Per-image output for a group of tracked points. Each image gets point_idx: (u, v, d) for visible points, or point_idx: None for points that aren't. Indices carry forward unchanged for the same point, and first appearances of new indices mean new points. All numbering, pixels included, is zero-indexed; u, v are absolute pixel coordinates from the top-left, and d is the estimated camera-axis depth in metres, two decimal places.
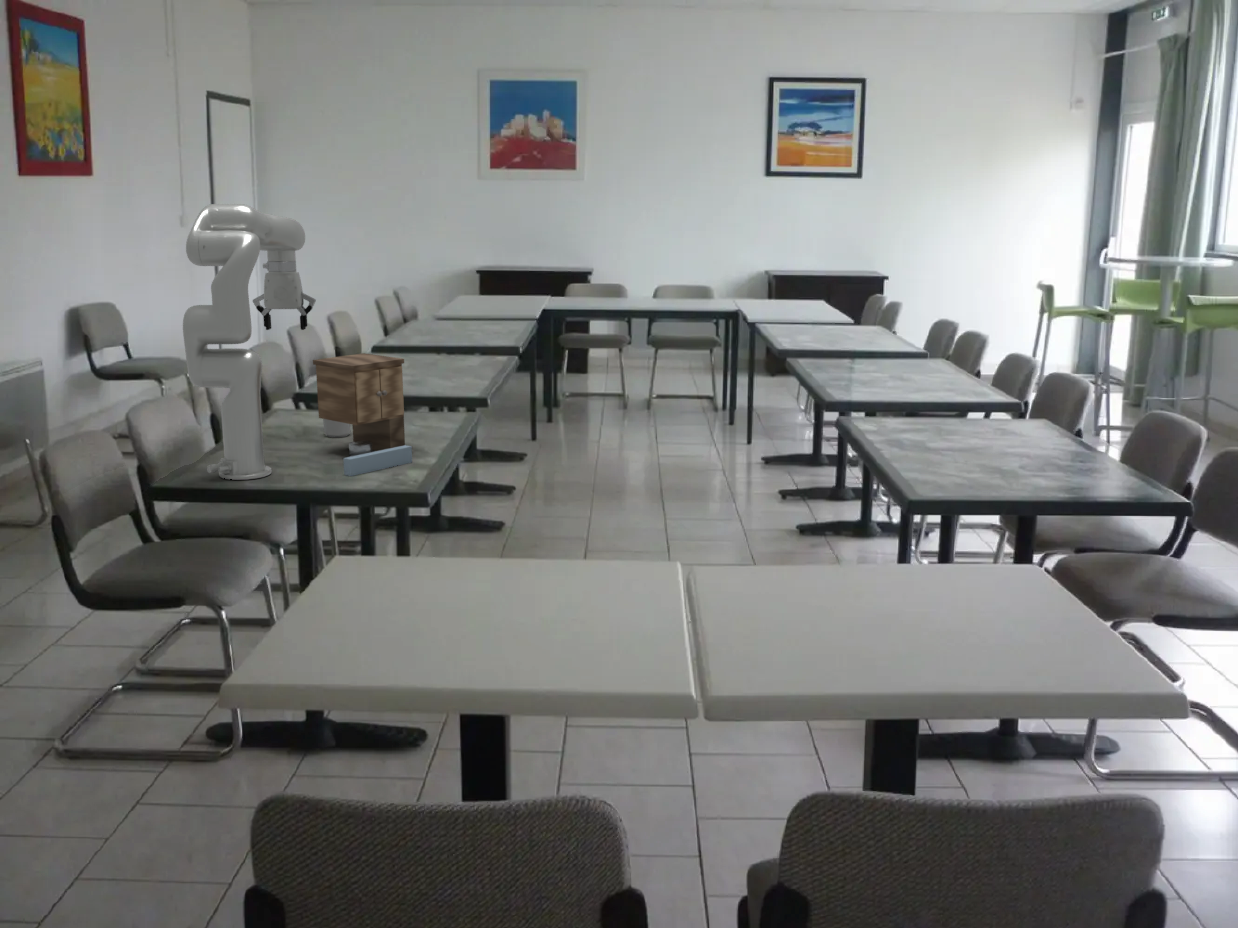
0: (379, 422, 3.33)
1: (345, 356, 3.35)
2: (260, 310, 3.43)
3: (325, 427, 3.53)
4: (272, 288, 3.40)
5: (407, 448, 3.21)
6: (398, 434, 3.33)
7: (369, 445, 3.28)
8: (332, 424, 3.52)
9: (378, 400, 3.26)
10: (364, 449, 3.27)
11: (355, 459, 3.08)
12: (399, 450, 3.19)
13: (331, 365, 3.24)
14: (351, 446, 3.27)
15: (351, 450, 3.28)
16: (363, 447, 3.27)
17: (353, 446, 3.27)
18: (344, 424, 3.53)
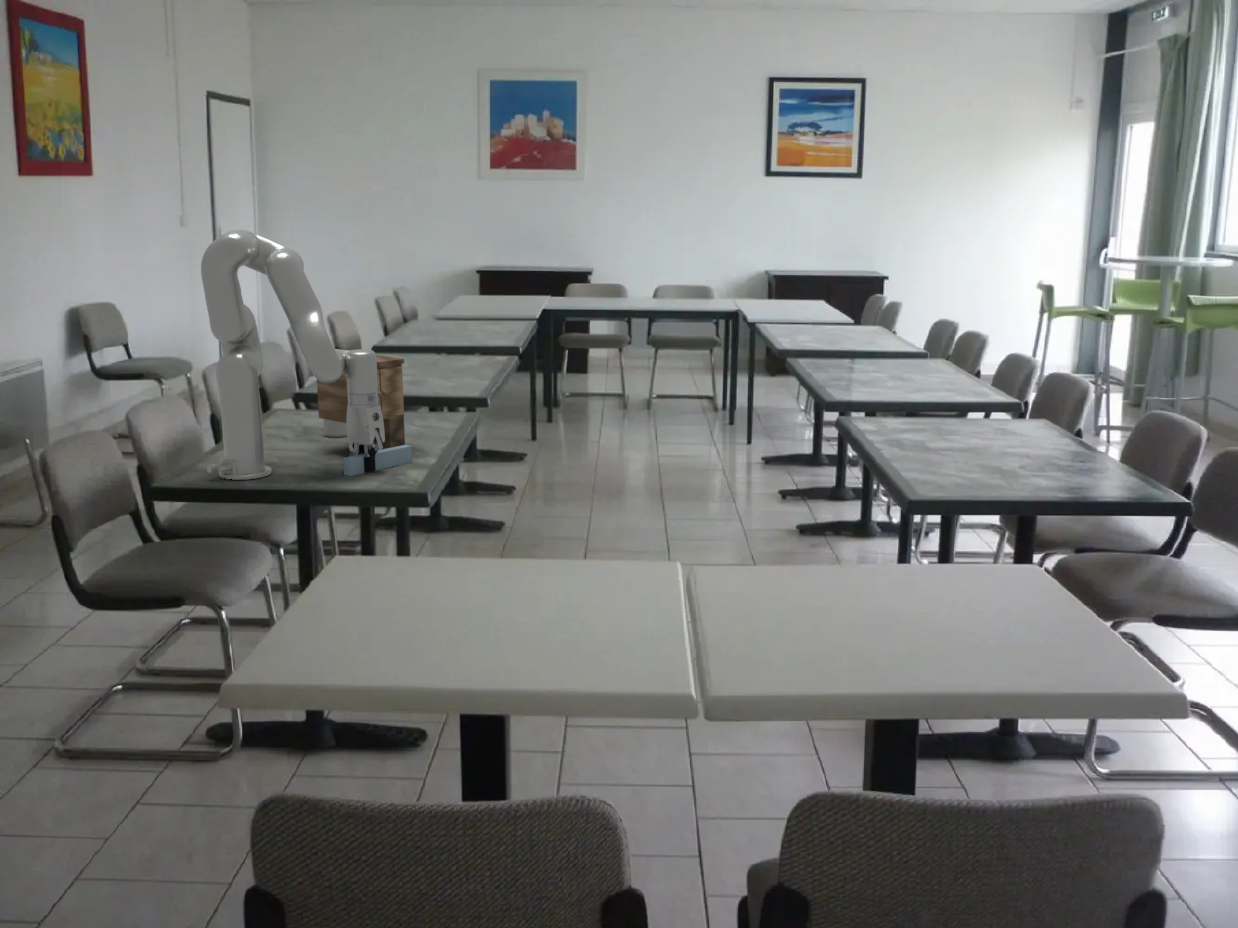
0: None
1: None
2: None
3: (325, 427, 3.53)
4: None
5: (407, 448, 3.21)
6: (398, 434, 3.33)
7: None
8: (332, 424, 3.52)
9: (378, 400, 3.26)
10: None
11: (355, 458, 3.08)
12: (399, 450, 3.19)
13: None
14: (351, 446, 3.27)
15: (351, 450, 3.28)
16: None
17: None
18: (344, 424, 3.53)
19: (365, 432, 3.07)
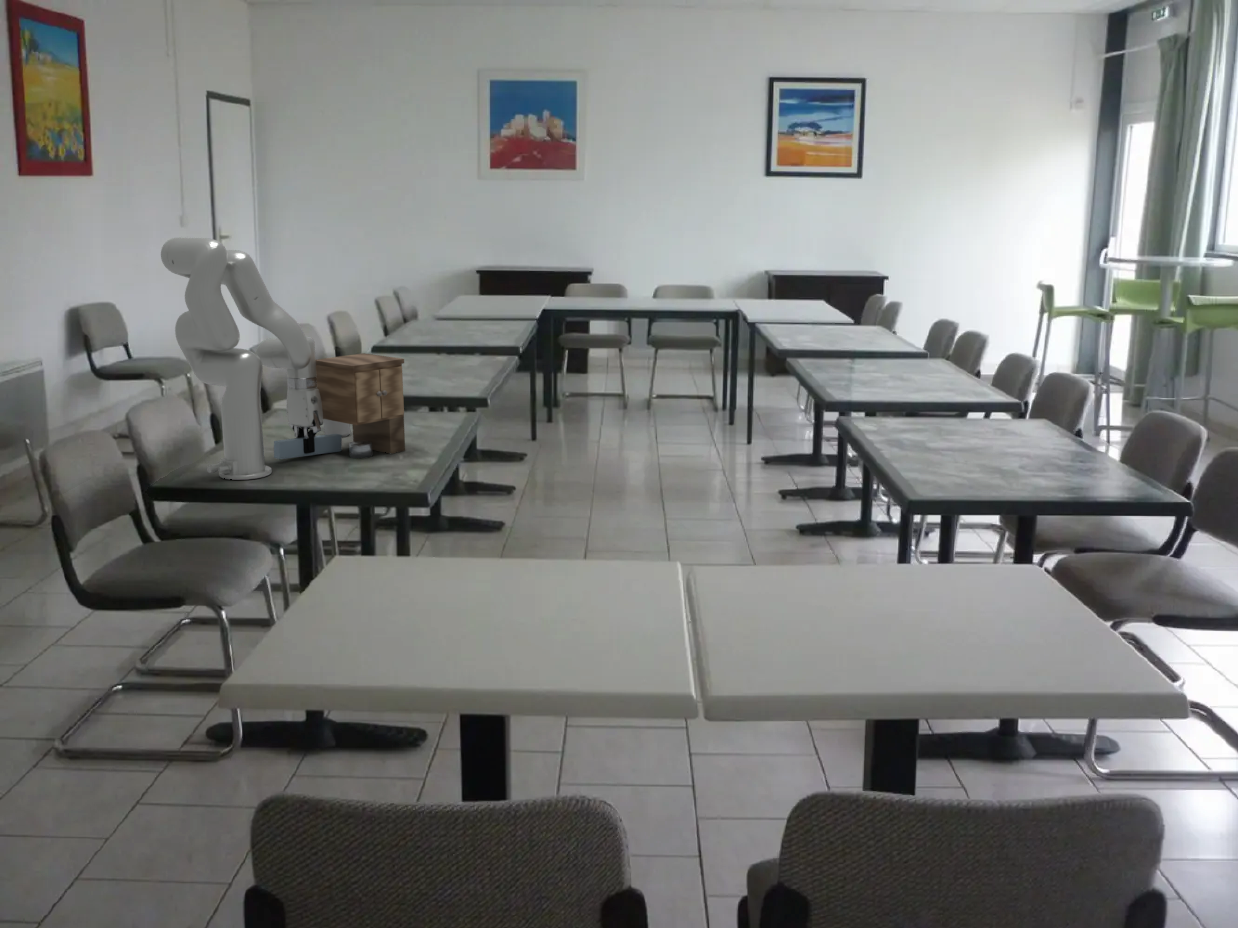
0: (379, 422, 3.33)
1: (345, 356, 3.35)
2: None
3: (325, 427, 3.53)
4: None
5: (337, 436, 3.34)
6: (398, 434, 3.33)
7: (369, 445, 3.28)
8: (332, 424, 3.52)
9: (378, 400, 3.26)
10: (364, 449, 3.27)
11: (285, 442, 3.21)
12: (329, 437, 3.32)
13: (331, 365, 3.24)
14: (351, 446, 3.27)
15: (351, 450, 3.28)
16: (363, 447, 3.27)
17: (353, 446, 3.27)
18: (344, 424, 3.53)
19: (304, 415, 3.22)
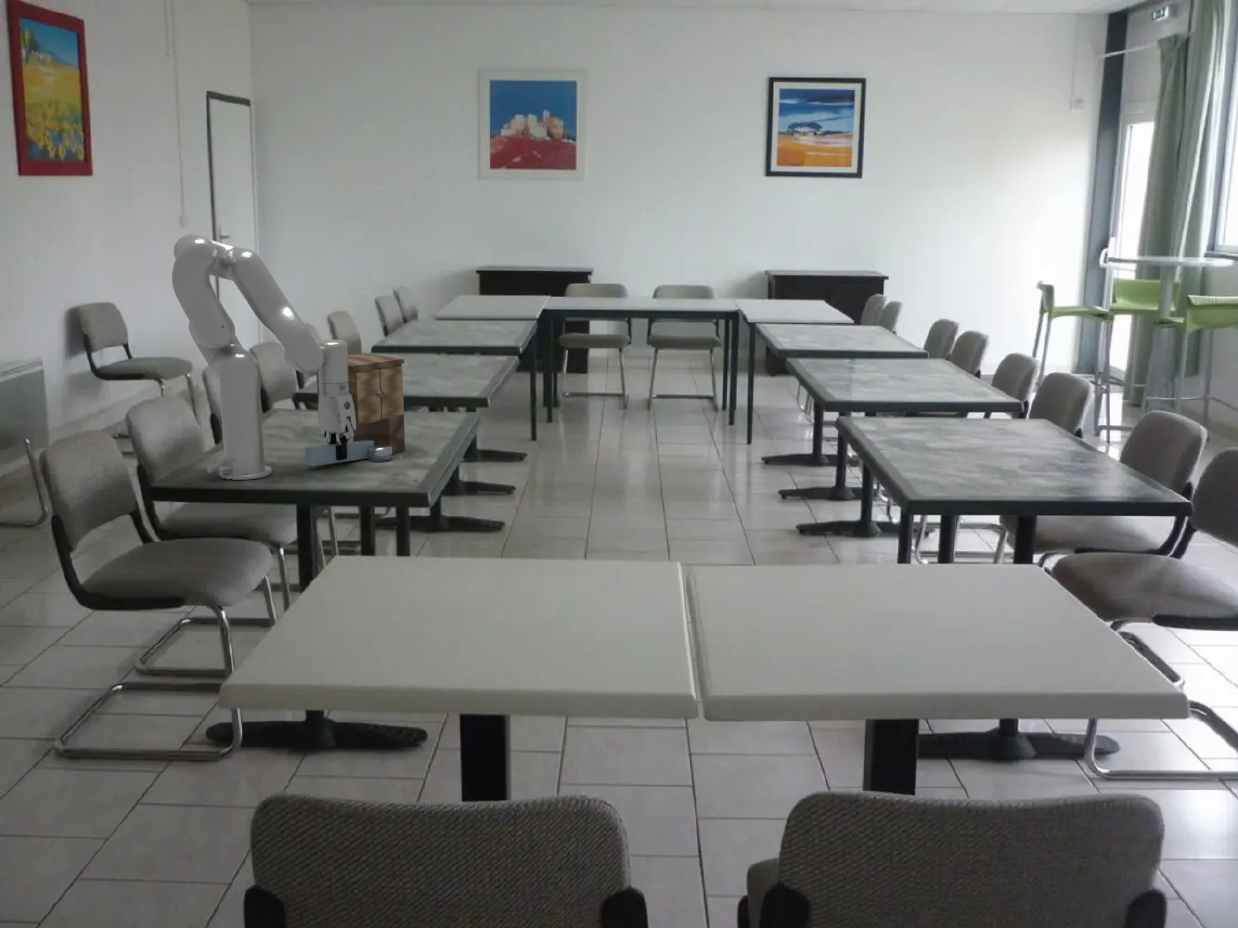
0: (379, 422, 3.33)
1: None
2: None
3: None
4: None
5: (369, 442, 3.25)
6: (398, 434, 3.33)
7: (389, 449, 3.23)
8: None
9: (378, 400, 3.26)
10: (384, 453, 3.22)
11: (317, 448, 3.13)
12: (361, 443, 3.23)
13: None
14: (371, 450, 3.23)
15: (371, 454, 3.23)
16: (383, 451, 3.22)
17: (373, 450, 3.22)
18: None
19: (336, 420, 3.14)
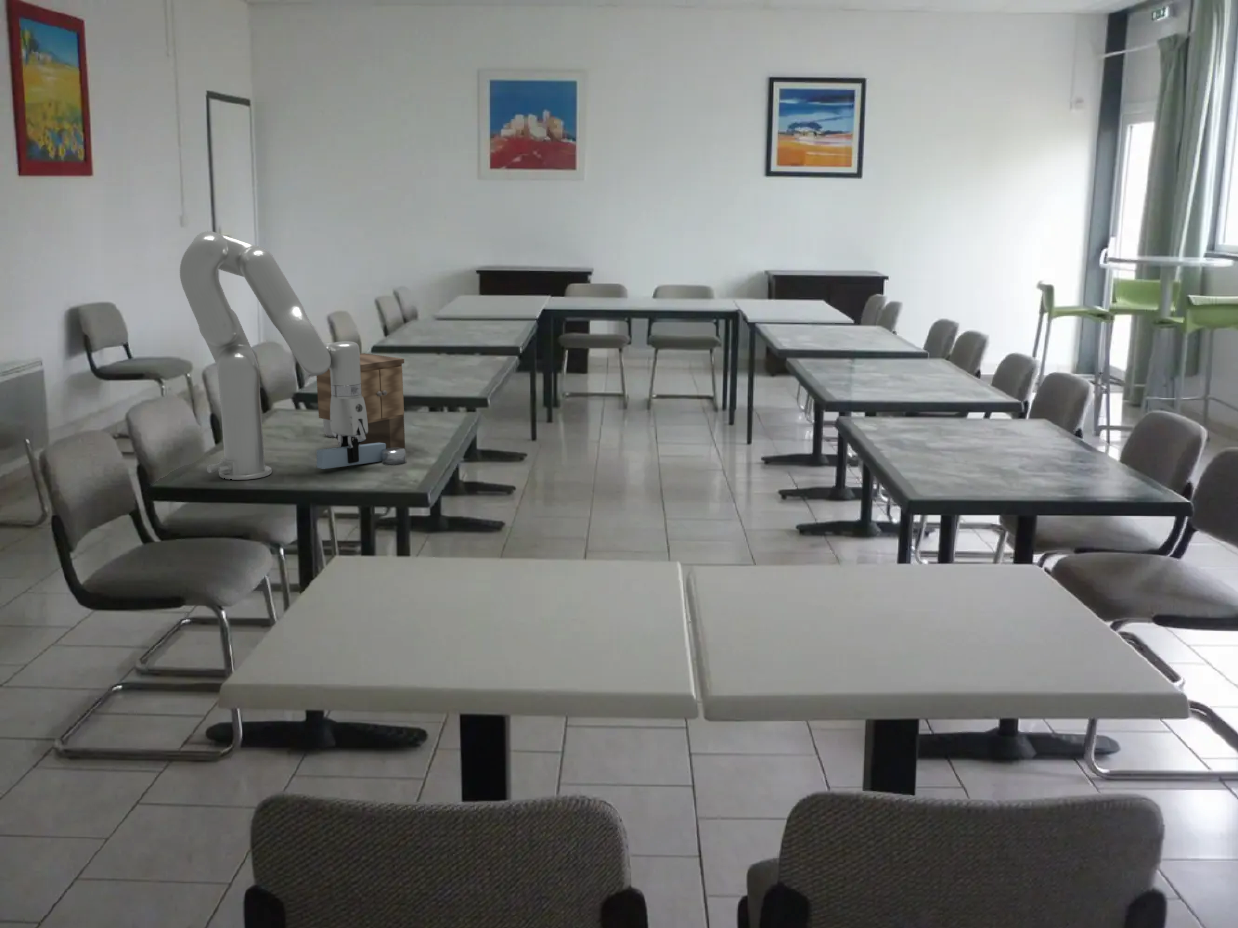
0: (379, 422, 3.33)
1: None
2: None
3: (325, 427, 3.53)
4: None
5: (381, 445, 3.22)
6: (398, 434, 3.33)
7: (402, 452, 3.20)
8: None
9: (378, 400, 3.26)
10: (396, 456, 3.19)
11: (328, 451, 3.09)
12: (373, 446, 3.20)
13: None
14: (383, 453, 3.20)
15: (383, 457, 3.20)
16: (396, 454, 3.19)
17: (385, 453, 3.19)
18: None
19: (348, 423, 3.10)
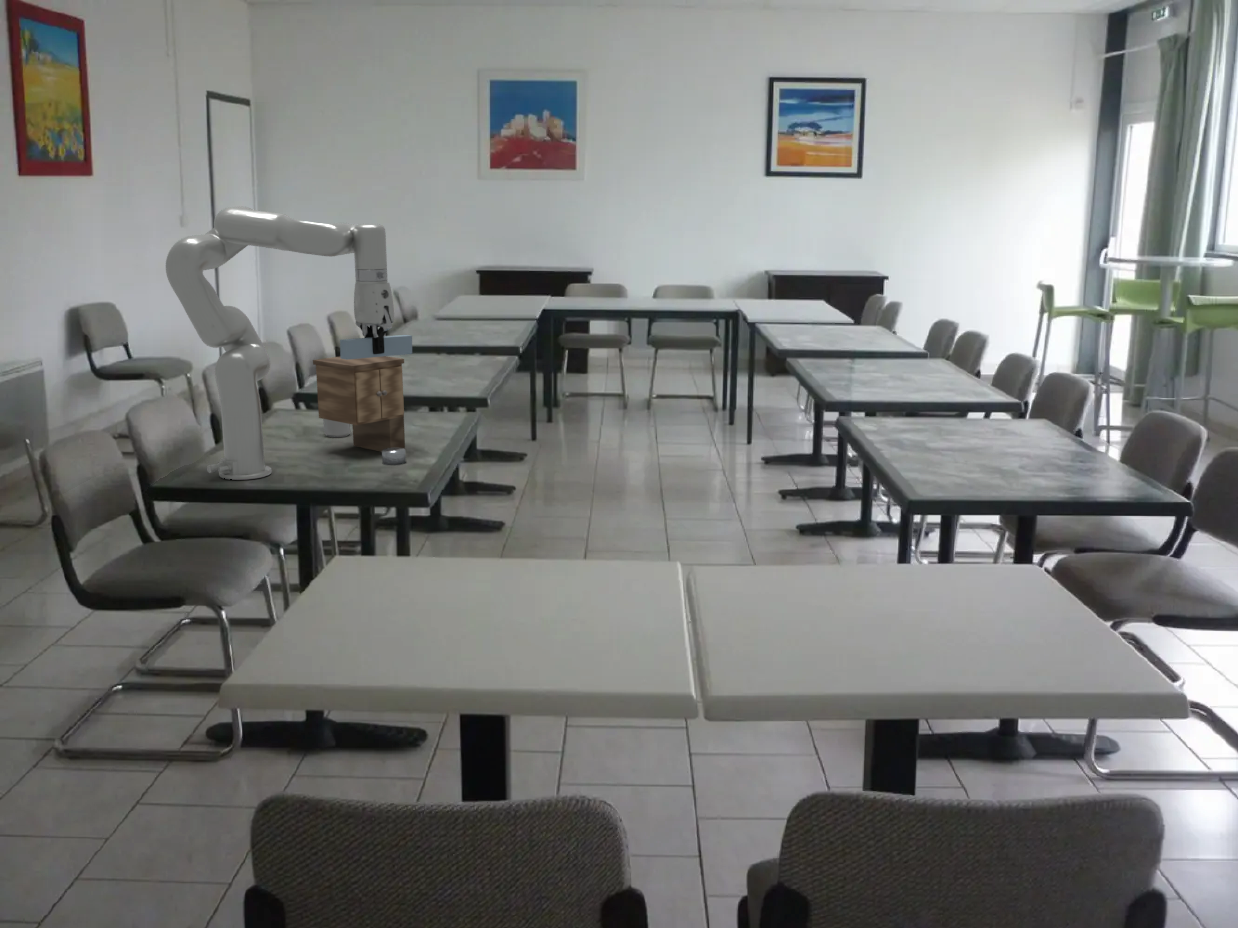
0: (379, 422, 3.33)
1: None
2: None
3: (325, 427, 3.53)
4: None
5: (407, 337, 3.05)
6: (398, 434, 3.33)
7: (402, 452, 3.20)
8: (332, 424, 3.52)
9: (378, 400, 3.26)
10: (396, 456, 3.19)
11: (352, 341, 2.92)
12: (399, 338, 3.03)
13: (331, 365, 3.24)
14: (384, 453, 3.20)
15: (384, 457, 3.20)
16: (396, 454, 3.19)
17: (385, 453, 3.19)
18: (344, 424, 3.53)
19: (374, 310, 2.93)
